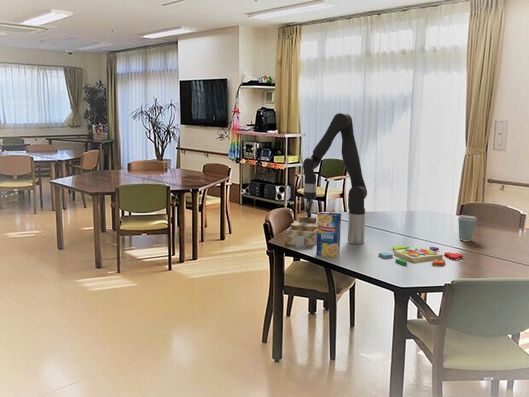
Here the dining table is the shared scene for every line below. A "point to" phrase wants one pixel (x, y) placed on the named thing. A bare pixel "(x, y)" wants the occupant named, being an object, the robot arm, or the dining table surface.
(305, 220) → the lid
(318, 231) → the blue food carton
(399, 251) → the pattern blocks set
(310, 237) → the box
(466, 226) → the disposable coffee cup
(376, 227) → the dining table surface
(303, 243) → the steel block
